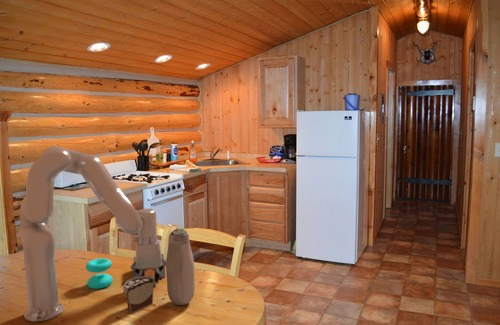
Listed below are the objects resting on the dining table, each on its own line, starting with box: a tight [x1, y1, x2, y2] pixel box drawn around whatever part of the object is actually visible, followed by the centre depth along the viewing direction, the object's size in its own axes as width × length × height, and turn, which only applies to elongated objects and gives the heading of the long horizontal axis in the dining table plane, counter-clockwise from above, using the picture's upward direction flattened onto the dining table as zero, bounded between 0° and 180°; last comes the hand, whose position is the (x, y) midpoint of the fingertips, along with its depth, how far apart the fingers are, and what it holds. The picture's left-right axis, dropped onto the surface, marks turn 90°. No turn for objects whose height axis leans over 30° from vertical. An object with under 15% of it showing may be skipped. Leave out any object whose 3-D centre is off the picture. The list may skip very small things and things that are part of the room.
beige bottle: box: [165, 228, 196, 306], centre depth 152 cm, size 10×10×28 cm
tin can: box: [143, 268, 157, 288], centre depth 169 cm, size 5×5×8 cm
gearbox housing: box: [132, 253, 166, 279], centre depth 181 cm, size 13×13×7 cm
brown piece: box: [122, 276, 155, 315], centre depth 151 cm, size 12×6×10 cm, turn 141°
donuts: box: [85, 257, 114, 290], centre depth 170 cm, size 10×10×10 cm
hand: (150, 282), depth 169 cm, fingers closed on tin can, 5 cm apart
